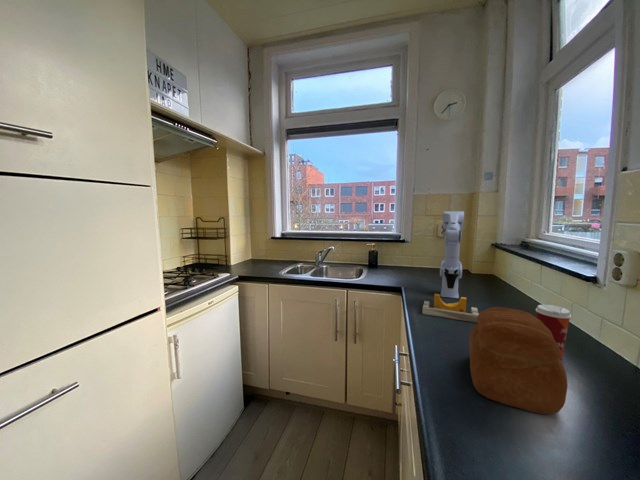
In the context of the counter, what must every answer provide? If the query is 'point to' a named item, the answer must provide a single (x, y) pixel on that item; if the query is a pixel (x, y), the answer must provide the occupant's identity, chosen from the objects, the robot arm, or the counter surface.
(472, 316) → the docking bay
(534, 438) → the counter surface
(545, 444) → the counter surface
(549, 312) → the paper cup
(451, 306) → the pipe clamp
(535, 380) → the bread
